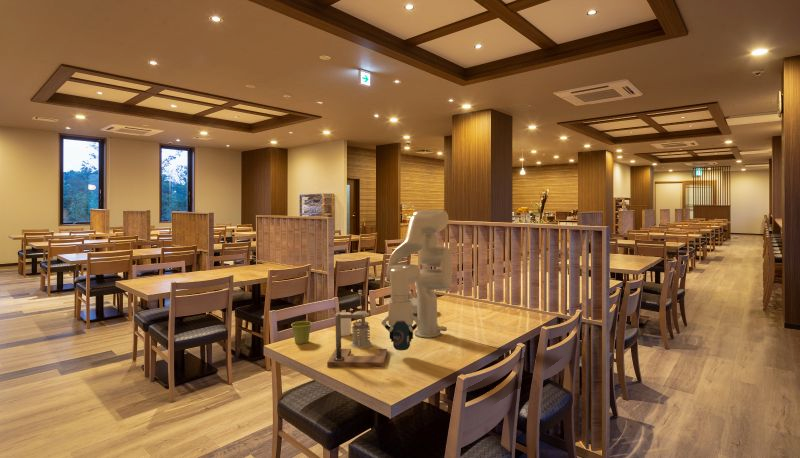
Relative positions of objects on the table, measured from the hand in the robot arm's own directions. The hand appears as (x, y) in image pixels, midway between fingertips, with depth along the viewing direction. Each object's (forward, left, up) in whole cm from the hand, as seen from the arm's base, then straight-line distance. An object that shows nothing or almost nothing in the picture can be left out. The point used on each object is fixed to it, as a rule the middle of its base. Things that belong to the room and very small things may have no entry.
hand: (401, 340), depth 178 cm
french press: (+19, -15, -7) cm, 26 cm away
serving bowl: (-3, -75, -7) cm, 76 cm away
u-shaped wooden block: (+17, +4, -7) cm, 19 cm away
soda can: (0, 0, -4) cm, 4 cm away
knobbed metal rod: (+20, +9, -5) cm, 22 cm away
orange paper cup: (+30, -32, -7) cm, 45 cm away
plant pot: (+47, -19, -7) cm, 52 cm away
